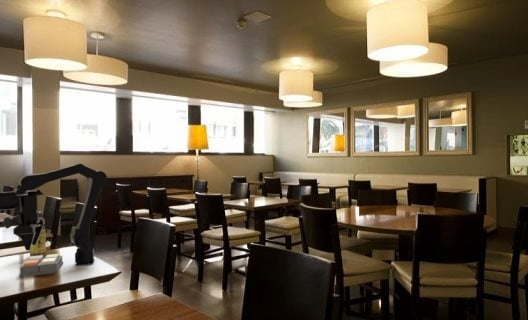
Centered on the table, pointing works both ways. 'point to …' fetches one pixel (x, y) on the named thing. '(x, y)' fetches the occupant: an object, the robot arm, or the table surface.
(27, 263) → the terracotta key
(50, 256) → the sage key
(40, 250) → the sauce bottle
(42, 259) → the grey key
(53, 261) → the cream key
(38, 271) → the keypad housing
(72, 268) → the table surface
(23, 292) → the table surface
